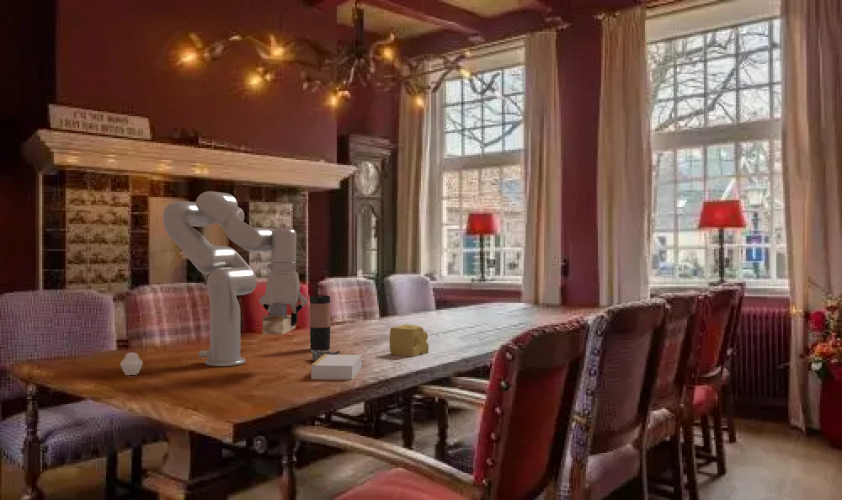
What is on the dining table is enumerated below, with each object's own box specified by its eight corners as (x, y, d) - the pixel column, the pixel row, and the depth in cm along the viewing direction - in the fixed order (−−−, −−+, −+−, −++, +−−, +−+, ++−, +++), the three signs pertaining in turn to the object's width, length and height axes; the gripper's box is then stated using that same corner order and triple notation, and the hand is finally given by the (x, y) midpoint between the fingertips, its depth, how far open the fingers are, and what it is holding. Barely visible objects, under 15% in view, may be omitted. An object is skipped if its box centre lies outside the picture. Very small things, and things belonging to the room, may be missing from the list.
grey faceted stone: (145, 372, 197) (145, 350, 197) (139, 376, 191) (140, 353, 191) (123, 373, 196) (123, 350, 196) (117, 377, 190) (117, 353, 190)
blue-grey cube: (269, 318, 197) (269, 305, 197) (273, 317, 201) (274, 304, 201) (282, 319, 197) (282, 306, 196) (286, 317, 201) (286, 304, 200)
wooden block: (262, 334, 192) (263, 315, 192) (276, 327, 207) (277, 310, 207) (282, 334, 192) (282, 316, 192) (295, 327, 207) (295, 310, 207)
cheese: (428, 353, 235) (428, 325, 235) (412, 357, 226) (412, 329, 226) (405, 350, 240) (405, 324, 240) (388, 354, 231) (388, 327, 231)
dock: (311, 379, 188) (311, 364, 188) (324, 367, 207) (324, 354, 207) (352, 379, 187) (352, 365, 187) (361, 367, 206) (361, 354, 206)
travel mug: (328, 351, 239) (328, 297, 239) (308, 351, 239) (308, 297, 239) (331, 347, 247) (331, 295, 247) (311, 347, 247) (311, 295, 247)
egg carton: (341, 363, 216) (341, 351, 216) (319, 365, 212) (319, 352, 212) (330, 358, 225) (330, 346, 225) (309, 359, 222) (309, 348, 222)
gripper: (253, 268, 200) (252, 326, 200) (308, 269, 199) (307, 327, 199) (260, 267, 207) (259, 323, 207) (313, 268, 206) (312, 324, 206)
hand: (282, 324), depth 203 cm, fingers closed on wooden block, 6 cm apart
